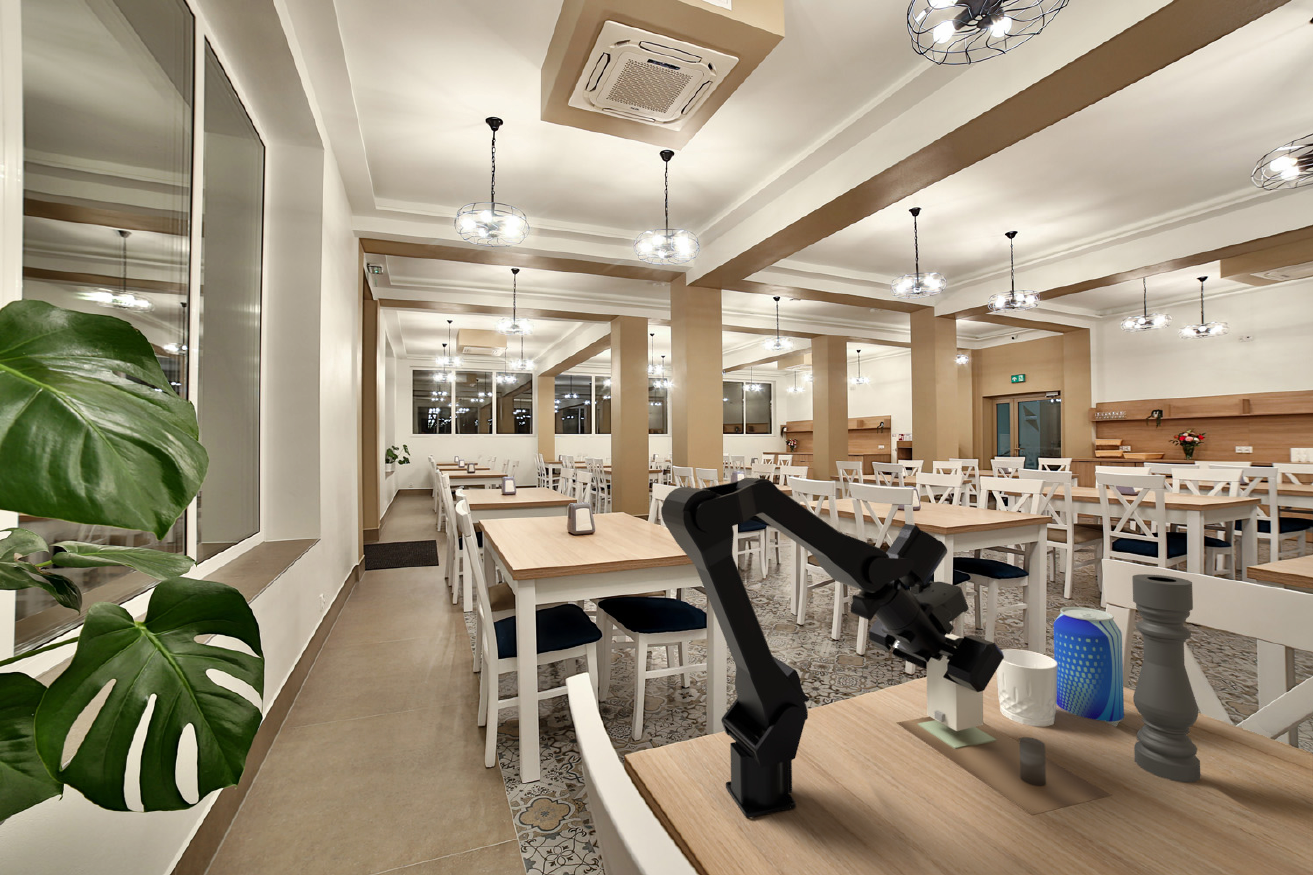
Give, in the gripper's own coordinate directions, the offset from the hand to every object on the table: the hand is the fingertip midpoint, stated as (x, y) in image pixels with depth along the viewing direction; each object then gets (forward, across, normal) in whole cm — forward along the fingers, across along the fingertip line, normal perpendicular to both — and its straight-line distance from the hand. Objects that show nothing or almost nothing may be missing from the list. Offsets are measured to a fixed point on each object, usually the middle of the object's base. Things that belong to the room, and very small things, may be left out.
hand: (961, 680), depth 82 cm
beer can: (+23, -2, -10) cm, 25 cm away
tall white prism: (+3, 0, +5) cm, 6 cm away
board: (+5, -6, +7) cm, 11 cm away
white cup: (+15, 0, -3) cm, 15 cm away
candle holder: (+17, -16, -5) cm, 24 cm away
